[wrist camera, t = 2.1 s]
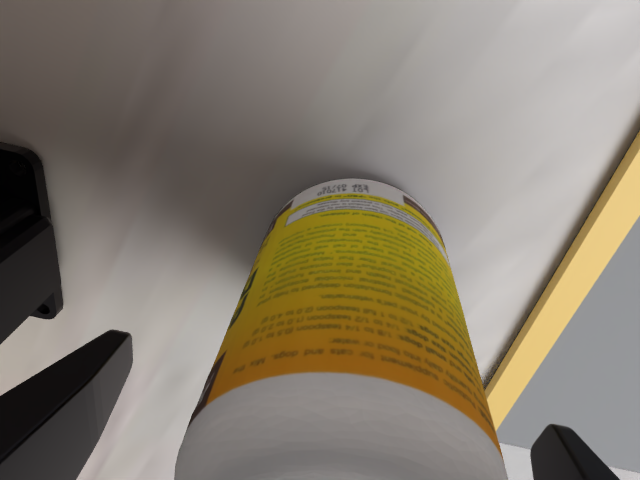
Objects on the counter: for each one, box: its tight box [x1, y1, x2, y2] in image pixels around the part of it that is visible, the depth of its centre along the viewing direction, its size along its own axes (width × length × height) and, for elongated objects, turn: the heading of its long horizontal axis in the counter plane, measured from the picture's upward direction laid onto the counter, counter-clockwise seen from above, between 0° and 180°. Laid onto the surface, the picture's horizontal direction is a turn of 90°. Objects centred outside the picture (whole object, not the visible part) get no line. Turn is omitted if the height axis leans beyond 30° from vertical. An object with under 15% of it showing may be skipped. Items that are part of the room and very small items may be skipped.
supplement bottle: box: [174, 178, 508, 480], centre depth 10 cm, size 6×6×10 cm
